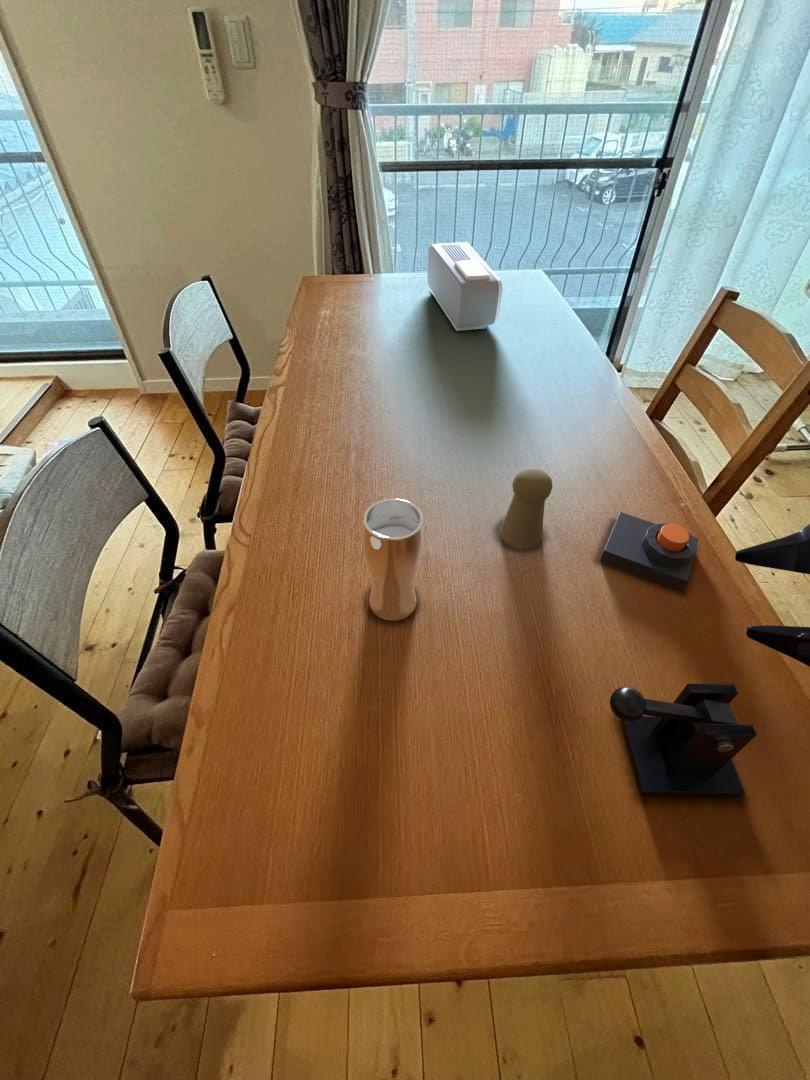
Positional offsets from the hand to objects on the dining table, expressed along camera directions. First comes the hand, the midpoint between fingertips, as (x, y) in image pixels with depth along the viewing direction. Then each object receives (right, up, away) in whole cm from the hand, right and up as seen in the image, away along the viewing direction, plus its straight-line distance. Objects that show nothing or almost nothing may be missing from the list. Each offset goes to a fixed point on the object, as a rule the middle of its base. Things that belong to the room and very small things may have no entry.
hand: (740, 591), depth 50 cm
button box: (+4, +3, +28) cm, 28 cm away
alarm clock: (-17, +60, +83) cm, 104 cm away
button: (+5, +4, +25) cm, 26 cm away
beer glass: (-32, -4, +21) cm, 39 cm away
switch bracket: (-2, -18, +8) cm, 20 cm away
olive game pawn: (-14, +5, +30) cm, 34 cm away
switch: (-7, -12, +1) cm, 14 cm away
